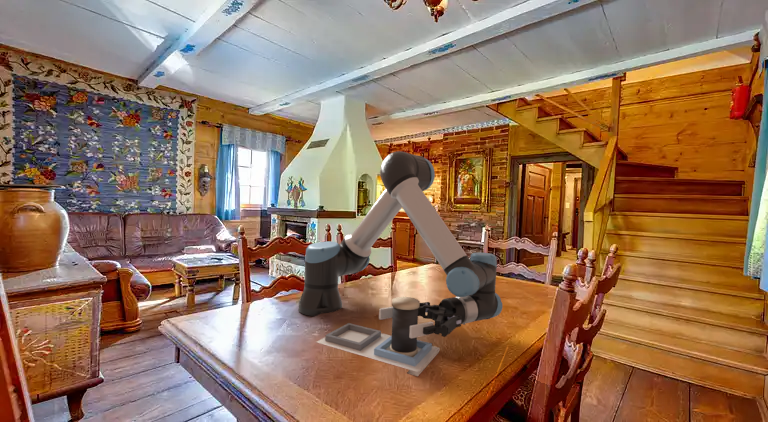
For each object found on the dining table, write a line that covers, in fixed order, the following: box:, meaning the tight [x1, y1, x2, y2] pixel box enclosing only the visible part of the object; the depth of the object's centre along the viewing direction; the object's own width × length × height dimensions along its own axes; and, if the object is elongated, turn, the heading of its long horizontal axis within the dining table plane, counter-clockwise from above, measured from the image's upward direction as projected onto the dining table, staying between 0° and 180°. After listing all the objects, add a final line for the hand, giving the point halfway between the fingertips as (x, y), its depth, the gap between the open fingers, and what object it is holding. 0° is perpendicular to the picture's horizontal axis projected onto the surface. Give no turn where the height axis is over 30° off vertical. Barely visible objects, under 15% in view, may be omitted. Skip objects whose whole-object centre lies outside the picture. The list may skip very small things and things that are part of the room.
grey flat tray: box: [315, 322, 441, 377], centre depth 89 cm, size 29×15×2 cm, turn 62°
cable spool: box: [390, 296, 421, 357], centre depth 86 cm, size 7×7×13 cm
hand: (393, 322), depth 84 cm, fingers open, 13 cm apart
